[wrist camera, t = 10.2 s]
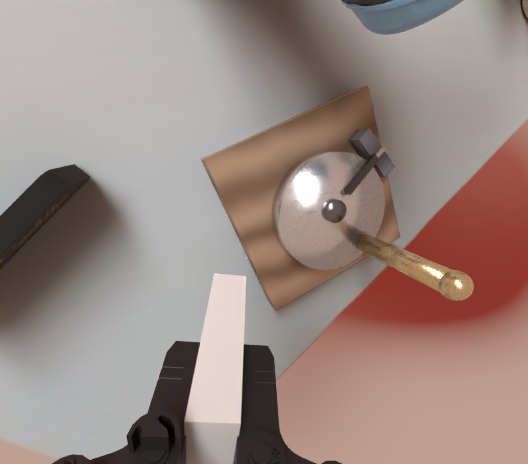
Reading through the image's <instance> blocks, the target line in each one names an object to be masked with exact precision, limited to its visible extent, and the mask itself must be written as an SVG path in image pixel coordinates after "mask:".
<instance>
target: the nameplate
mask: <svg viewBox="0 0 528 464" xmlns="http://www.w3.org/2000/svg"><path fill="white" fill-rule="evenodd" d="M89 178H90V176H89V175H87V174H86V173H85V172H83V171H82V170H81V169H80V168H78V167H77V166H76V165H75V164H74V165H69V166H64V167H60V168H55V169H51V170H48V171H46V172H45V173H44V174H42V175H41V176H40V177H39V178H38V179H37V180H36V181H35V182H34V183H33V184H32V185H31V186H30V187H29V188H28V189H27V190H26V191H25V192H24V193H23V194H22V195H21V196H20V197H19V198H18V199H17V200H16V201H15V202H14V203H13V204H12V205H11V206H10V207H9V208H8V209H7V210H6V211H5V212H4V213H3V214H2V215H1V216H0V268H1V267H2V266H3V265H4V264H5V263H6V262H7V261H8V260H9V259H10V258H11V257H12V256H13V255H14V254H15V253H16V252H17V251H18V250H19V249H20V248H21V247H22V246H23V245H24V244H25V243H26V242H27V241H28V240H29V239H30V238H31V237H32V236H33V235H34V234H35V233H36V232H37V231H38V230H39V229H40V228H41V227H42V226H43V225H44V224H45V223H46V222H47V221H48V220H49V219H50V218H51V217H52V216H53V215H54V214H55V213H56V212H57V211H58V210H59V209H60V208H61V207H62V206H63V205H64V204H65V203H66V202H67V201H68V200H69V199H70V198H71V197H72V196H73V194H74V193H75V192H76V191H77V190H78V189H79V188H80V187H81V186H82V185H83V184H84V183H85V182H86V181H87V180H88V179H89Z"/></svg>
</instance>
